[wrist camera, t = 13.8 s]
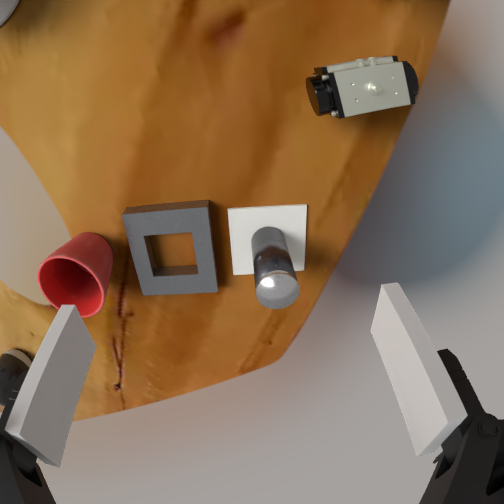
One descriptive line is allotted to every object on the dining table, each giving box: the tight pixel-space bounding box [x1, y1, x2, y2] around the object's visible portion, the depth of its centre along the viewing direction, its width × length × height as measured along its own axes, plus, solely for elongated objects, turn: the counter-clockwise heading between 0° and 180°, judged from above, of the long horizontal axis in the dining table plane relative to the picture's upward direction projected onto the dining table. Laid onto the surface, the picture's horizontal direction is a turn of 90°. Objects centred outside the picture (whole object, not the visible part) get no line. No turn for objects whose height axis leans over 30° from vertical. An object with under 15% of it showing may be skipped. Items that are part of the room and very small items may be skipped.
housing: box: [122, 200, 219, 295], centre depth 46 cm, size 14×12×2 cm
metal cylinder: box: [251, 226, 299, 309], centre depth 42 cm, size 5×5×12 cm
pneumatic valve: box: [306, 56, 419, 119], centre depth 31 cm, size 6×12×12 cm, turn 107°
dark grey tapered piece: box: [0, 349, 32, 406], centre depth 55 cm, size 10×10×15 cm
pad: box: [228, 204, 307, 275], centre depth 47 cm, size 11×11×1 cm
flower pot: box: [38, 232, 113, 317], centre depth 43 cm, size 11×11×10 cm
